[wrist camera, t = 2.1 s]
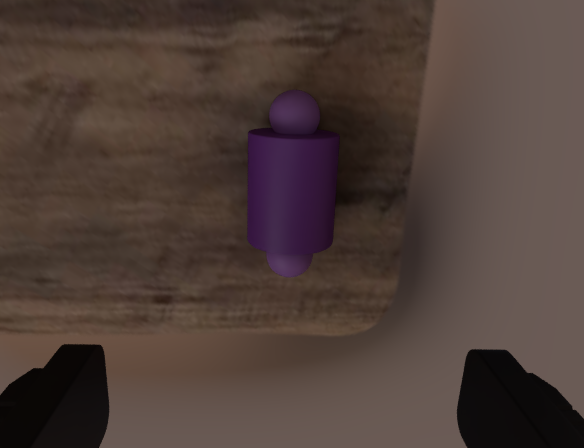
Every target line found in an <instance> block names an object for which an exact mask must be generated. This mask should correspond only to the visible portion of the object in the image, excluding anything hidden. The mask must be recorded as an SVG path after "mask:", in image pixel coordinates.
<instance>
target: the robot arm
mask: <svg viewBox="0 0 584 448" xmlns="http://www.w3.org/2000/svg"><path fill="white" fill-rule="evenodd" d="M108 417H109V397H108V388H107V377H106V366H105V355H104V351H103V347H102V346H101V345H85V344H83V345H82V344H79V345H78V344H64V345H62V346H61V347H60V348H59V349H58V350H57V352H56V353H55V354H54V355H53V357H52V358H51V359H50V361H49V362H48V363H47V364H46V366H45V367H44V368H33V369H32V370H30V371H29V372H27V373H26V374H24V375H23V376H21V377H20V378H18V379H17V380H15V381H14V382H12V383H11V384H9V385H8V387H7V388H6V389H5V390H4V391H3V393H2V394H1V395H0V448H99V446H100V444H101V442H102V440H103V437H104V435H105V432H106V429H107V424H108ZM457 420H458V426H459V430H460V433H461V436H462V438H463V440H464V442H465V444H466V446H467V448H584V419H583V418H582V416H581V415H580V414H579V413H578V412H577V411H576V410H573V409H572V406H571V404H569V402H568V401H567V400H566V399H565V398H564V397H563V396H562V395H561V394H560V392H559V391H558V390H557V389H556V388H554V387H553V386H551V385H550V384H548V383H547V382H545V381H544V380H542V379H541V378H539V377H538V376H536V375H535V374H533V373H527V372H526V371H525V370H524V369H523V367H522V366H521V365H520V364H519V363H518V362H517V360H516V359H515V358H514V357H513V356H512V355H511V354H510V353H509V352H508V351H507V350H482V349H480V350H479V349H477V350H476V349H474V350H473V349H472V350H470V351H469V352H468V354H467V356H466V361H465V366H464V372H463V378H462V384H461V389H460V395H459V401H458V406H457Z"/></svg>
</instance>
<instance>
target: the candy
mask: <svg viewBox="0 0 584 448" xmlns="http://www.w3.org/2000/svg"><path fill="white" fill-rule="evenodd" d="M269 119H270V124H271V126H272V128H261V129H254V130H251V131H249V132H248V233H247V238H248V242H249V243H250V244H251V245H252V246H253V247H255V248H257V249H260V250H263V251H266V252H267V253H266V255H267V261H268V264H269V266H270V267H271V269H272V270H273V271H274V272H276V273H277V274H279V275H281V276H284V277H295V276H298V275H300V274H302V273H304V272H305V271H306V270H307V269H308V267H309V266H310V264H311V261H312V257H313V253H317V252H320V251H323V250H325V249H327V248H329V247H330V246H331V245H332V242H333V230H334V215H335V200H336V185H337V170H338V154H339V139H340V136H339V134H337V133H334V132H330V131H325V130H316V129H317V127H318V125H319V121H320V111H319V107H318V105H317V103H316V101H315V100H314V98H313V97H312V96H311V95H309V94H308V93H306V92H304V91H300V90H289V91H286V92H283V93H282V94H280V95H279V96H278V97H277V98H276V99H275V100H274V102H273V103H272V105H271V108H270V113H269Z"/></svg>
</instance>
